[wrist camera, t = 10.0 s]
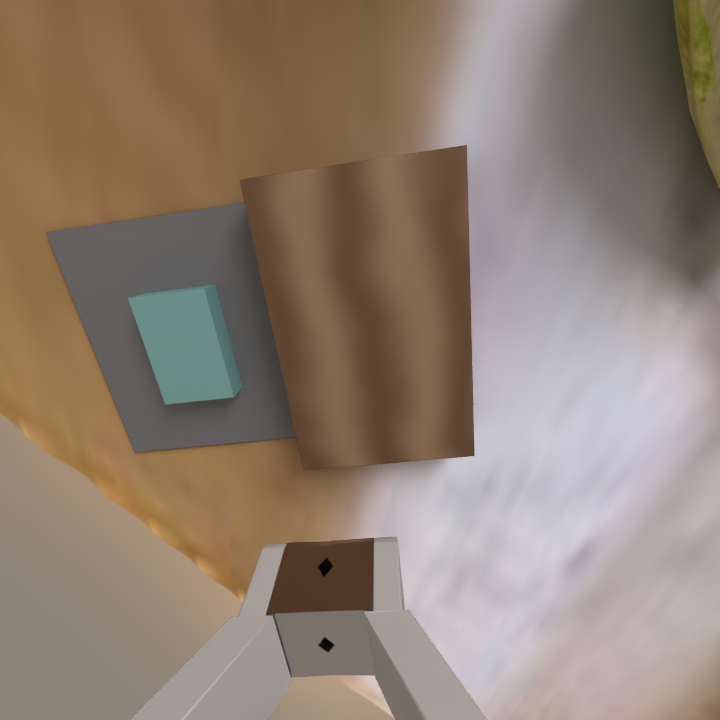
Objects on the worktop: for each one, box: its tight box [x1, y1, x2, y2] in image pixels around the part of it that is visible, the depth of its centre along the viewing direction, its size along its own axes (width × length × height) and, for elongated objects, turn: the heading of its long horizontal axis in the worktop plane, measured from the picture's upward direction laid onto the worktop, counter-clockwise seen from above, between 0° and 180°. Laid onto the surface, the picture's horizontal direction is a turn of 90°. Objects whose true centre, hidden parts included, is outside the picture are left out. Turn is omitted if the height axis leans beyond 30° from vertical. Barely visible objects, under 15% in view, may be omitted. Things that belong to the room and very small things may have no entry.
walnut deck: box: [240, 145, 474, 470], centre depth 28 cm, size 14×22×4 cm, turn 7°
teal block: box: [128, 285, 242, 404], centre depth 30 cm, size 6×9×2 cm, turn 7°
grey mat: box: [46, 203, 296, 452], centre depth 31 cm, size 16×20×1 cm
